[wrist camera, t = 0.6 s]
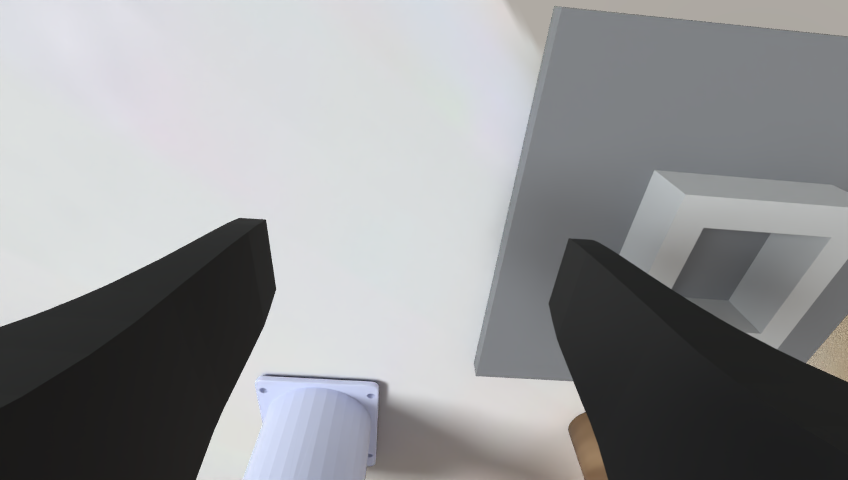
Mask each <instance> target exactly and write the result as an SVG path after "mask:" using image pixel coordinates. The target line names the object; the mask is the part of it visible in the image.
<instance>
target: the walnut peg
mask: <svg viewBox="0 0 848 480" xmlns="http://www.w3.org/2000/svg"><path fill="white" fill-rule="evenodd" d="M568 431H569V434H570V437H571V440H572V443H573V446H574V449H575V452H576V455H577V458H578V461H579V464H580V467H581V470H582V473H583V476H584V479H585V480H608V478H607V474H606V471H605V467H604V464H603V460H602V457H601V453H600V450H599V446H598V443H597V440H596V438H595V435H594V432H593V429H592V426H591V424H590V421H589V419H588V416H587V414H586V412H585V413H583V414H581V415H579V416H577V417H576V418H575V419H574V420H573V421H572V422H571V423H570V425H569V428H568Z"/></svg>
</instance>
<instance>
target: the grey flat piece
mask: <svg viewBox="0 0 848 480" xmlns="http://www.w3.org/2000/svg"><path fill="white" fill-rule="evenodd" d="M569 238H571V239H588V240H595V241H597V242H599V243H601V244H602V245H604V246H606V247H608V248H609V249H611V250H612V251H614V252H616V253H617V254H619V255H620V256H622V257H623V258H625V259H626V260H628V261H629V262H631V263H632V264H634V265H635V266H637V267H638V268H640V269H641V270H643V271H644V272H646V273H647V274H649V275H650V276H652V277H653V278H655V279H657V280H658V281H660V282H661V283H663V284H664V285H666V286H667V287H669V288H670V289H672V290H673V291H675V292H677V293H678V294H680V295H681V296H683V297H685V298H686V299H688V300H689V301H691V302H693V303H694V304H696V305H698V306H699V307H701V308H703V309H704V310H706V311H708V312H709V313H711V314H713V315H714V316H716V317H718V318H719V319H721V320H723V321H725V322H726V323H728V324H730V325H732V326H734V327H735V328H737V329H739V330H741V331H743V332H745V333H747V334H749V335H751V336H752V337H754V338H756V339H758V340H760V341H762V342H764V343H766V344H768V345H770V346H772V347H774V348H775V349H777V350H779V351H781V352H783V353H786V354H788V355H790V356H792V357H794V358H796V359H798V360H800V361H802V362H804V363H806V362H807V361H808V360H809V359H810V358H811V356H812V355H813V354H814V353H815V352H816V351H817V349H818V348H819V347H820V346H821V345H822V344H823V342H824V341H825V340H826V339H827V338H828V337H829V335H830V334H831V333H832V332H833V331H834V330H835V328H836V327H837V326H838V325H839V324H840V323H841V321H842V320H843V319H844V318H845V317H846V316H847V314H848V37H847V36H836V35H828V34H818V33H809V32H808V33H807V32H799V31H789V30H780V29H769V28H759V27H751V26H741V25H731V24H721V23H712V22H702V21H693V20H682V19H673V18H664V17H653V16H644V15H635V14H625V13H615V12H606V11H596V10H586V9H577V8H566V7H557V6H554V9H553V14H552V18H551V23H550V27H549V32H548V36H547V41H546V45H545V49H544V54H543V58H542V63H541V67H540V72H539V76H538V81H537V85H536V89H535V94H534V98H533V103H532V107H531V112H530V116H529V121H528V125H527V130H526V134H525V138H524V143H523V147H522V152H521V156H520V161H519V165H518V170H517V174H516V179H515V183H514V188H513V192H512V196H511V201H510V205H509V210H508V214H507V219H506V223H505V228H504V232H503V237H502V241H501V245H500V250H499V254H498V259H497V263H496V268H495V272H494V277H493V281H492V286H491V290H490V294H489V299H488V303H487V308H486V312H485V317H484V321H483V326H482V330H481V335H480V339H479V343H478V348H477V352H476V357H475V361H474V366H475V374H476V376H486V377H504V378H523V379H541V380H560V381H573V379H572V376H571V374H570V372H569V369H568V367H567V364H566V361H565V359H564V356H563V354H562V351H561V349H560V346H559V343H558V341H557V337H556V334H555V330H554V326H553V322H552V317H551V313H550V308H549V304H548V303H549V300H550V297H551V294H552V291H553V287H554V284H555V281H556V278H557V274H558V271H559V268H560V265H561V262H562V258H563V255H564V252H565V249H566V245H567V242H568V239H569Z"/></svg>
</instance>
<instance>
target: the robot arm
mask: <svg viewBox="0 0 848 480" xmlns="http://www.w3.org/2000/svg"><path fill="white" fill-rule="evenodd" d="M275 291H276V285H275V278H274V272H273V265H272V258H271V251H270V244H269V237H268V231H267V224H266V220H263V219H247V218H238V219H236V220H233V221H231V222H229V223H227V224H225V225H223V226H221V227H219V228H217V229H215V230H213V231H212V232H210V233H208V234H206V235H204V236H202V237H200V238H199V239H197V240H195V241H193V242H191V243H189V244H187V245H186V246H184V247H182V248H180V249H178V250H176V251H174V252H173V253H171V254H169V255H167V256H165V257H163V258H161V259H159V260H157V261H155V262H153V263H151V264H149V265H147V266H145V267H143V268H141V269H139V270H137V271H135V272H133V273H131V274H129V275H127V276H125V277H123V278H121V279H119V280H117V281H115V282H113V283H110V284H108V285H106V286H104V287H102V288H99V289H97V290H95V291H92V292H90V293H88V294H86V295H83V296H81V297H78V298H76V299H74V300H71V301H69V302H66V303H64V304H61V305H59V306H56V307H54V308H51V309H49V310H46V311H44V312H41V313H39V314H36V315H33V316H30V317H28V318H25V319H22V320H19V321H16V322H13V323H10V324H8V325H5V326H2V327H0V480H196V478H197V475H198V472H199V470H200V467H201V464H202V462H203V459H204V456H205V453H206V451H207V448H208V445H209V443H210V440H211V437H212V435H213V432H214V429H215V427H216V425H217V423H218V420H219V418H220V416H221V413H222V411H223V409H224V407H225V405H226V403H227V401H228V399H229V397H230V395H231V393H232V391H233V389H234V387H235V385H236V383H237V381H238V379H239V377H240V374H241V372H242V370H243V368H244V366H245V364H246V362H247V360H248V358H249V356H250V354H251V352H252V350H253V348H254V346H255V344H256V342H257V340H258V338H259V336H260V333H261V331H262V329H263V327H264V325H265V322H266V319H267V316H268V313H269V310H270V307H271V304H272V301H273V297H274V294H275ZM548 304H549V308H550V313H551V317H552V322H553V326H554V330H555V334H556V337H557V341H558V343H559V346H560V349H561V351H562V354H563V356H564V359H565V361H566V364H567V367H568V369H569V372H570V374H571V376H572V379H573V381H574V384H575V386H576V389H577V391H578V394H579V396H580V399H581V401H582V404H583V406H584V409H585V411H586V414H587V416H588V419H589V421H590V424H591V426H592V429H593V432H594V435H595V438H596V440H597V443H598V446H599V450H600V453H601V457H602V460H603V464H604V467H605V471H606V474H607V478H608V480H848V382H846V381H844V380H842V379H840V378H837V377H835V376H833V375H831V374H829V373H826V372H824V371H822V370H820V369H817V368H815V367H813V366H811V365H809V364H806V363H804V362H802V361H800V360H798V359H796V358H794V357H792V356H790V355H788V354H786V353H783V352H781V351H779V350H777V349H775V348H774V347H772V346H770V345H768V344H766V343H764V342H762V341H760V340H758V339H756V338H754V337H752V336H751V335H749V334H747V333H745V332H743V331H741V330H739V329H737V328H735V327H734V326H732V325H730V324H728V323H726V322H725V321H723V320H721V319H719V318H718V317H716V316H714V315H713V314H711V313H709V312H708V311H706V310H704V309H703V308H701V307H699V306H698V305H696V304H694V303H693V302H691V301H689V300H688V299H686V298H685V297H683V296H681V295H680V294H678V293H677V292H675V291H673V290H672V289H670V288H669V287H667V286H666V285H664V284H663V283H661V282H660V281H658V280H657V279H655V278H653V277H652V276H650V275H649V274H647V273H646V272H644V271H643V270H641V269H640V268H638V267H637V266H635V265H634V264H632V263H631V262H629V261H628V260H626V259H625V258H623V257H622V256H620V255H619V254H617V253H616V252H614V251H612V250H611V249H609V248H608V247H606V246H604V245H602V244H601V243H599V242H597V241H595V240H588V239H571V238H569V239H568V242H567V245H566V249H565V252H564V255H563V258H562V262H561V265H560V268H559V271H558V274H557V278H556V281H555V284H554V287H553V291H552V294H551V297H550V300H549V303H548ZM255 388H256V393H257V398H258V403H259V408H260V413H261V417H262V422H263V425H262V427H261V430H260V433H259V436H258V438H257V441H256V444H255V447H254V449H253V452H252V455H251V458H250V461H249V463H248V466H247V469H246V472H245V474H244V477H243V480H365V477H366V468H367V466H373V465H374V464H375V463H376V447H377V425H378V403H379V385H378V384H377V383H375V382H370V381H351V380H331V379H312V378H293V377H274V376H260V377H258V378H257V379H256V382H255Z"/></svg>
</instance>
